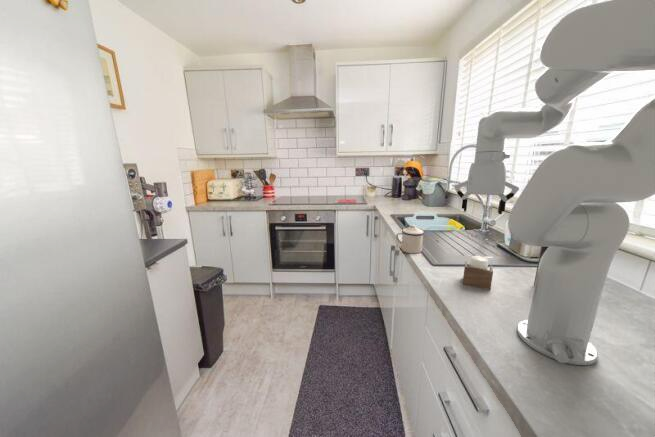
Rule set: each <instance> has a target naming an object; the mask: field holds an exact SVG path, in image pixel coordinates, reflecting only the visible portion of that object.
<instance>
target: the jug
mask: <svg viewBox="0 0 655 437" xmlns="http://www.w3.org/2000/svg"><path fill="white" fill-rule="evenodd" d="M468 266H469V267H475V268H480V269H486V270H488V266H489V259H488V258H486V257H484V256H481V255H472V256H470V257H469V265H468Z"/></svg>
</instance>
